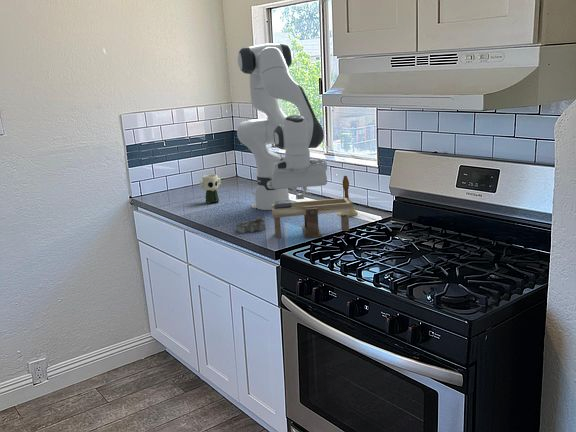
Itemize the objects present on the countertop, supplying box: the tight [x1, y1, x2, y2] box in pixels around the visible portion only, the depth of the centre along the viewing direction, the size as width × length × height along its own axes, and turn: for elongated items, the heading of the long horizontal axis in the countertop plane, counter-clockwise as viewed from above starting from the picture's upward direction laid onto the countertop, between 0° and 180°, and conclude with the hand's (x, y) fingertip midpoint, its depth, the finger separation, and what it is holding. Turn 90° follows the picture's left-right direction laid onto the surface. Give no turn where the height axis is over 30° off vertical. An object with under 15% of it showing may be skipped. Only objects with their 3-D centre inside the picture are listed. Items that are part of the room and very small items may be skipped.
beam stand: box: [273, 208, 350, 239], centre depth 216 cm, size 14×27×10 cm, turn 93°
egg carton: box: [236, 216, 266, 233], centre depth 227 cm, size 11×8×4 cm
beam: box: [271, 197, 350, 219], centre depth 215 cm, size 9×28×3 cm, turn 93°
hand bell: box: [336, 175, 359, 217], centre depth 238 cm, size 8×8×16 cm
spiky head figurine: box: [199, 174, 222, 203], centre depth 277 cm, size 11×7×13 cm, turn 126°
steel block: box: [274, 199, 292, 209], centre depth 214 cm, size 5×6×4 cm
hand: (300, 198), depth 214 cm, fingers closed
